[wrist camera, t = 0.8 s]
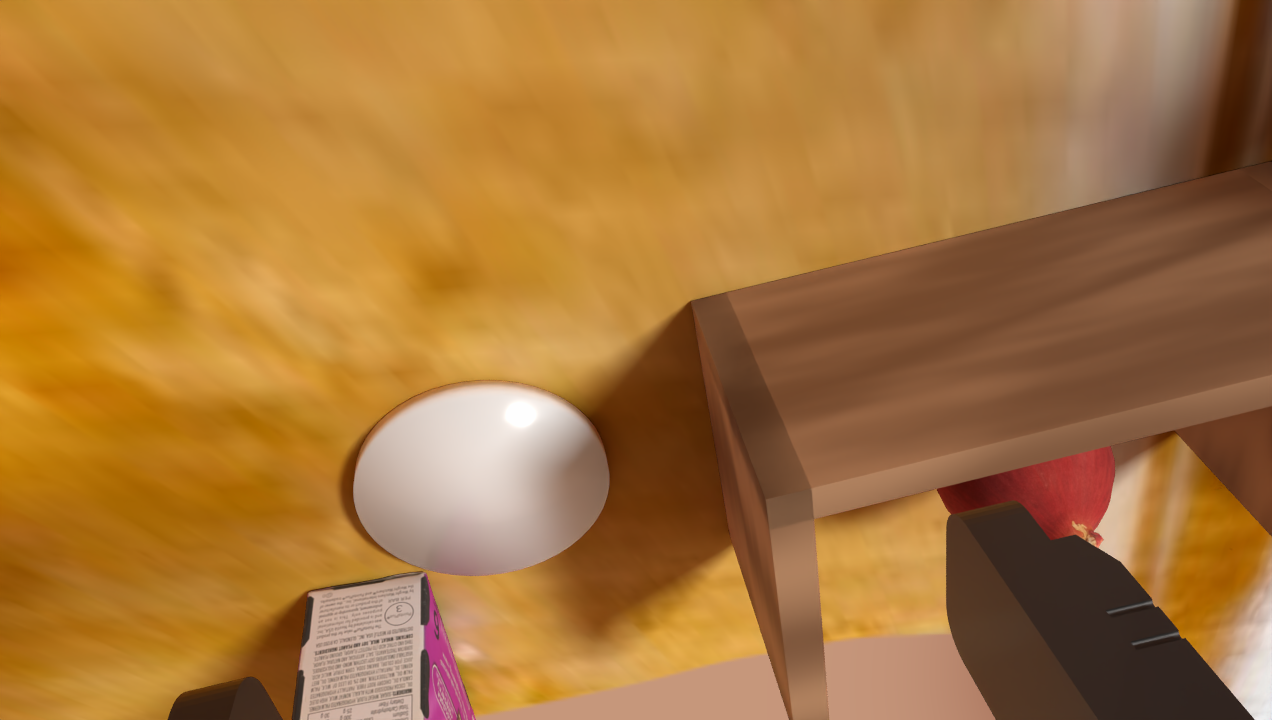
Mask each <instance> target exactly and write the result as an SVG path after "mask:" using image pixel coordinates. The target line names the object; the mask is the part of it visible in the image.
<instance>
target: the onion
mask: <svg viewBox="0 0 1272 720" xmlns="http://www.w3.org/2000/svg"><path fill="white" fill-rule="evenodd" d="M1114 477H1115V460H1114V457H1113V453H1112V449H1111V446H1108V447H1104V448H1100V449H1096V450H1092V451H1088V452H1083V453H1079V454H1075V455H1071V456H1067V457H1063V458H1059V459H1055V460H1051V461H1047V462H1043V463H1039V464H1035V465H1031V466H1027V467H1023V468H1019V469H1015V470H1011V471H1007V472H1003V473H999V474H994V475H990V476H986V477H982V478H978V479H974V480H970V481H966V482H962V483H958V484H954V485H950V486H946V487H942V488H938V489H937V491H938V493H939V495H940V497H941V499H942V501H943V503H944V505H945V507H946V508H947V510H948V511H949V512H950V514H951V515H952V514H957V513H961V512H965V511H969V510H974V509H978V508H982V507H987V506H991V505H995V504H999V503H1004V502H1008V501H1012V500H1014V501H1017V502H1019V503H1021V504H1022V505H1023V506H1024V507H1025V508H1026V509H1027V510H1028V511H1029V513H1030V514H1031V515H1032V517H1033V518H1034V519H1035V520H1036V522H1037V523H1038V524H1039V526H1040V527H1041V528H1042V529H1043V531H1044V532H1045V533H1046V535H1047V536H1048V537H1049V538H1050V540H1054V539H1058V538H1062V537H1067V536H1071V535H1075V534H1076V535H1078V536H1079V537H1081V538H1082V539H1084V540H1086V541H1087V542H1089V543H1090V544H1092V545H1094V546H1095V547H1097V548H1098V547H1099V545H1100V544H1101V542H1102V541H1103V538H1102V537H1101V536H1100V534H1098V533H1095V532H1094V530H1095V529H1096V528H1097V526H1098V525H1099V523H1100V521H1101V519H1102V518H1103V516H1104V514H1105V512H1106V510H1107V508H1108V505H1109V502H1110V498H1111V492H1112V486H1113V482H1114Z"/></svg>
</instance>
